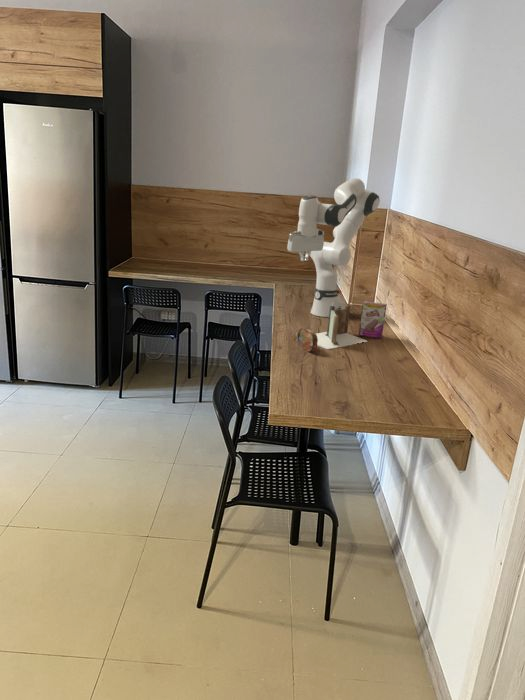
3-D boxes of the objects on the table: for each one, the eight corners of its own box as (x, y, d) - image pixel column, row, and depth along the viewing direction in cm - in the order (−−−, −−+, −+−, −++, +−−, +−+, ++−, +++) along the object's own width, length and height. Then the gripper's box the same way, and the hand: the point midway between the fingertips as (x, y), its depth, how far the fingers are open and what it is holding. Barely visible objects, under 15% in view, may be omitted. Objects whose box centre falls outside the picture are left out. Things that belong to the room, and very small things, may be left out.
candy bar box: (358, 335, 256) (362, 302, 251) (359, 333, 261) (363, 300, 256) (381, 339, 254) (386, 305, 249) (382, 336, 258) (387, 303, 253)
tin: (296, 343, 239) (298, 325, 236) (302, 343, 240) (304, 325, 237) (311, 354, 226) (312, 335, 223) (317, 354, 227) (319, 335, 224)
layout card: (337, 330, 263) (337, 329, 263) (367, 341, 248) (367, 340, 248) (297, 337, 248) (297, 336, 248) (327, 349, 233) (327, 348, 233)
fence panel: (327, 334, 251) (330, 309, 247) (331, 335, 251) (334, 309, 247) (331, 343, 238) (334, 316, 234) (335, 344, 238) (338, 317, 234)
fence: (344, 331, 261) (347, 303, 256) (348, 332, 259) (351, 304, 254) (325, 334, 253) (328, 306, 249) (329, 336, 251) (332, 307, 247)
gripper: (294, 232, 242) (291, 262, 247) (326, 231, 254) (324, 260, 259) (285, 230, 247) (283, 260, 251) (317, 230, 259) (315, 258, 263)
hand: (304, 260), depth 255 cm, fingers closed
